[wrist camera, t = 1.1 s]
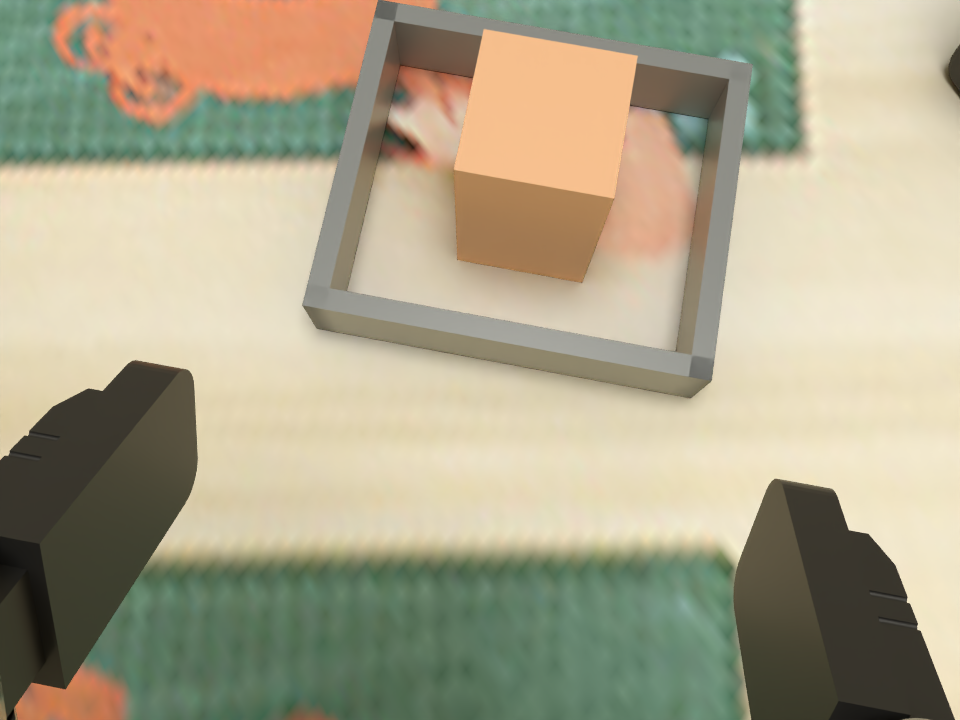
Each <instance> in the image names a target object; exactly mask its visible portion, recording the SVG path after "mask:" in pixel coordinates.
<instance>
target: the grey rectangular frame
mask: <svg viewBox="0 0 960 720" xmlns="http://www.w3.org/2000/svg"><path fill="white" fill-rule="evenodd" d="M484 29H487V30H492V31H498V32H504V33H510V34H515V35H521V36H527V37H533V38H538V39H544V40H550V41H556V42H561V43H567V44H573V45H579V46H585V47H590V48H596V49H602V50H608V51H613V52H619V53H625V54H631V55H636V56H638V58H637V64H636V70H635V76H634V82H633V88H632V94H631V100H630V105H633V106H638V107H644V108H650V109H656V110H661V111H667V112H673V113H678V114H684V115H690V116H696V117H701V118H707V119H709V120H708V127H707V134H706V141H705V149H704V156H703V163H702V170H701V177H700V184H699V191H698V198H697V205H696V213H695V220H694V227H693V234H692V241H691V248H690V255H689V262H688V269H687V277H686V284H685V291H684V298H683V305H682V312H681V319H680V326H679V333H678V340H677V348H676V352H673V351H667V350H662V349H657V348H651V347H646V346H640V345H635V344H629V343H624V342H619V341H613V340H608V339H602V338H597V337H591V336H586V335H581V334H575V333H570V332H564V331H559V330H554V329H548V328H543V327H537V326H532V325H526V324H521V323H516V322H510V321H505V320H499V319H494V318H489V317H483V316H478V315H472V314H467V313H461V312H456V311H451V310H445V309H440V308H434V307H429V306H423V305H418V304H413V303H407V302H402V301H396V300H391V299H386V298H380V297H375V296H369V295H364V294H358V293H353V292H348V291H347V288H348V283H349V279H350V275H351V271H352V266H353V262H354V258H355V254H356V250H357V245H358V241H359V237H360V233H361V228H362V224H363V220H364V216H365V212H366V207H367V203H368V199H369V195H370V190H371V186H372V182H373V178H374V174H375V169H376V165H377V161H378V157H379V152H380V148H381V144H382V140H383V136H384V131H385V127H386V123H387V119H388V114H389V110H390V106H391V102H392V98H393V93H394V89H395V85H396V81H397V76H398V72H399V68H400V65H404V66H410V67H415V68H421V69H427V70H433V71H438V72H444V73H450V74H455V75H461V76H467V77H474V73H475V68H476V63H477V59H478V54H479V49H480V44H481V40H482V35H483V30H484ZM752 65H753V64H748V63H743V62H737V61H731V60H725V59H719V58H714V57H708V56H702V55H696V54H690V53H685V52H679V51H673V50H667V49H661V48H656V47H650V46H644V45H638V44H632V43H627V42H621V41H615V40H609V39H603V38H598V37H592V36H586V35H580V34H574V33H569V32H563V31H557V30H551V29H545V28H540V27H534V26H528V25H522V24H516V23H511V22H505V21H499V20H493V19H487V18H482V17H476V16H470V15H464V14H458V13H453V12H447V11H441V10H435V9H429V8H424V7H418V6H412V5H406V4H400V3H395V2H389V1H383V0H378V3H377V7H376V11H375V15H374V19H373V23H372V27H371V31H370V35H369V39H368V43H367V47H366V51H365V55H364V59H363V63H362V67H361V71H360V75H359V79H358V83H357V87H356V91H355V95H354V99H353V103H352V107H351V111H350V115H349V119H348V123H347V128H346V132H345V136H344V140H343V144H342V148H341V152H340V156H339V160H338V164H337V168H336V172H335V176H334V180H333V184H332V188H331V192H330V196H329V200H328V204H327V208H326V212H325V216H324V220H323V224H322V228H321V232H320V236H319V240H318V244H317V248H316V252H315V256H314V260H313V264H312V268H311V272H310V276H309V280H308V284H307V288H306V293H305V297H304V301H303V307H304V309H305V310H306V312H307V314H308V315H309V317H310V318H311V320H312V322H313V323H314V325H315V326H316V328H318V329H323V330H328V331H334V332H339V333H344V334H350V335H355V336H361V337H366V338H371V339H377V340H382V341H387V342H393V343H398V344H404V345H409V346H414V347H420V348H425V349H430V350H436V351H441V352H447V353H452V354H457V355H463V356H468V357H473V358H479V359H484V360H489V361H495V362H500V363H506V364H511V365H516V366H522V367H527V368H532V369H538V370H543V371H549V372H554V373H559V374H565V375H570V376H575V377H581V378H586V379H591V380H597V381H602V382H608V383H613V384H618V385H624V386H629V387H634V388H640V389H645V390H651V391H656V392H661V393H667V394H672V395H677V396H683V397H688V398H691V397H693V396H694V395H695V394H696V393H698V392H699V391H700V390H701V389H702V388H704V387H705V386H706V385H707V384H709V383H710V382H711V381H712V374H713V366H714V358H715V351H716V343H717V335H718V328H719V320H720V312H721V304H722V297H723V289H724V281H725V274H726V266H727V258H728V250H729V243H730V235H731V227H732V220H733V212H734V204H735V196H736V189H737V181H738V173H739V166H740V158H741V150H742V142H743V135H744V127H745V119H746V112H747V104H748V96H749V88H750V81H751V73H752Z"/></svg>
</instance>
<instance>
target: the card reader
mask: <svg viewBox="0 0 960 720" xmlns="http://www.w3.org/2000/svg"><path fill="white" fill-rule="evenodd" d="M949 73H950V78H951V80H952V82H953V83H954V84H955V86H956V87H957V88H958V90H959V91H960V45H959V46H958V48H957V49H956V51H955V52H954V54H953V55H952V57H951V59H950V64H949Z"/></svg>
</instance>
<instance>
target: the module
mask: <svg viewBox="0 0 960 720" xmlns="http://www.w3.org/2000/svg"><path fill="white" fill-rule="evenodd" d="M637 58H638V56H636V55H631V54H625V53H619V52H613V51H608V50H602V49H596V48H590V47H585V46H579V45H573V44H567V43H561V42H556V41H550V40H544V39H538V38H533V37H527V36H521V35H515V34H510V33H504V32H498V31H492V30H487V29H484V30H483V35H482V40H481V44H480V49H479V54H478V59H477V63H476V68H475V73H474V77H473V82H472V87H471V91H470V96H469V101H468V105H467V110H466V115H465V119H464V124H463V129H462V133H461V138H460V143H459V147H458V152H457V157H456V161H455V166H454V189H455V213H456V237H457V260H461V261H466V262H472V263H477V264H483V265H488V266H494V267H499V268H505V269H510V270H516V271H521V272H527V273H532V274H537V275H543V276H548V277H554V278H559V279H565V280H570V281H576V282H581V283H582V282H583V279H584V276H585V274H586V271H587V269H588V266H589V263H590V261H591V258H592V255H593V253H594V250H595V248H596V245H597V242H598V240H599V237H600V235H601V232H602V229H603V227H604V224H605V221H606V219H607V216H608V214H609V211H610V208H611V206H612V203H613V200H614V197H615V191H616V185H617V179H618V173H619V167H620V161H621V154H622V148H623V142H624V136H625V130H626V124H627V118H628V112H629V106H630V100H631V94H632V88H633V82H634V76H635V70H636V64H637Z"/></svg>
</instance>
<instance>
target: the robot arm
mask: <svg viewBox="0 0 960 720" xmlns="http://www.w3.org/2000/svg"><path fill="white" fill-rule="evenodd" d="M197 461H198V456H197V435H196V415H195V395H194V381H193V377H192V374H191V373H190V371H188V370H186V369H180V368H175V367H169V366H164V365H158V364H153V363H147V362H142V361H136V360H135V361H132V362H130V363H129V364H127V365H126V366H125V367H124V369H123V370H122V371H121V372H120V373H119V374H118V375H117V376H116V377H115V378H114V379H113V380H112V382H111V383H110V384H109V385H108V386H107V387H106V388H105V389H104V390H103V391H99V390H94V389H86V390H84V391H83V392H81V393H79V394H77V395H75V396H73V397H71V398H69V399H67V400H65V401H63V402H61V403H59V404H57V405H55V406H53V407H52V408H51V409H50V410H49V411H48V412H47V413H46V414H45V415H44V416H43V417H42V418H41V419H40V420H39V421H38V422H37V423H36V425H35V426H34V427H33V428H32V429H31V430H30V431H29V435H28V436H24V437H23V438H22V439H21V440H20V441H19V442H18V443H17V444H16V445H15V446H14V447H13V448H12V449H11V450H10V454H9V456H4V457H3V458H2V459H1V460H0V720H18V718H17V713H16V709H15V706H16V704H17V703H18V701H19V700H20V698H21V697H22V695H23V694H24V693H25V691H26V690H27V688H28V687H29V685H30V684H31V682H32V683H37V684H42V685H47V686H52V687H57V688H62V689H66V688H67V686H68V685H69V683H70V682H71V680H72V678H73V677H74V675H75V674H76V672H77V671H78V669H79V668H80V666H81V665H82V663H83V661H84V660H85V658H86V657H87V655H88V654H89V652H90V651H91V649H92V647H93V646H94V644H95V643H96V641H97V640H98V638H99V637H100V635H101V633H102V632H103V630H104V629H105V627H106V626H107V624H108V623H109V621H110V619H111V618H112V616H113V615H114V613H115V612H116V610H117V609H118V607H119V605H120V604H121V602H122V601H123V599H124V598H125V596H126V595H127V593H128V592H129V590H130V588H131V587H132V585H133V584H134V582H135V581H136V579H137V578H138V576H139V574H140V573H141V571H142V570H143V568H144V567H145V565H146V564H147V562H148V560H149V559H150V557H151V556H152V554H153V553H154V551H155V550H156V548H157V546H158V545H159V543H160V542H161V540H162V539H163V537H164V536H165V534H166V533H167V531H168V529H169V528H170V526H171V525H172V523H173V522H174V520H175V519H176V517H177V515H178V514H179V512H180V511H181V509H182V508H183V506H184V505H185V503H186V501H187V499H188V497H189V495H190V493H191V490H192V487H193V484H194V480H195V476H196V471H197ZM734 611H735V617H736V624H737V630H738V637H739V643H740V650H741V656H742V662H743V669H744V675H745V682H746V688H747V695H748V701H749V707H750V714H751V720H955V719H954V716H953V714H952V711H951V708H950V706H949V703H948V701H947V698H946V695H945V693H944V690H943V688H942V685H941V682H940V680H939V677H938V675H937V672H936V670H935V667H934V664H933V662H932V659H931V657H930V654H929V651H928V649H927V646H926V644H925V641H924V638H923V636H922V633H921V631H919V630H917V625H918V623H917V620H916V618H915V615H914V613H913V610H912V607H911V605H910V604H909V603H907V594H906V592H905V589H904V587H903V584H902V581H901V579H900V576H899V574H898V571H897V569H896V566H895V564H894V563H893V562H892V561H891V560H890V558H889V557H888V556H887V555H886V554H885V553H884V552H883V550H882V549H881V548H880V547H879V546H878V545H877V543H876V542H875V541H874V540H873V539H872V538H871V536H870V535H869V534H866V533H860V532H855V531H849V530H848V527H847V524H846V521H845V518H844V515H843V512H842V509H841V506H840V503H839V500H838V497H837V495H836V493H835V492H834V490H832V489H830V488H824V487H819V486H813V485H808V484H802V483H797V482H791V481H786V480H780V479H774V480H773V481H772V482H771V483H770V484H769V486H768V488H767V490H766V493H765V495H764V498H763V500H762V503H761V506H760V508H759V511H758V513H757V516H756V519H755V521H754V524H753V526H752V529H751V532H750V534H749V537H748V539H747V542H746V545H745V547H744V550H743V552H742V555H741V558H740V560H739V563H738V567H737V571H736V576H735V583H734Z"/></svg>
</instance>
